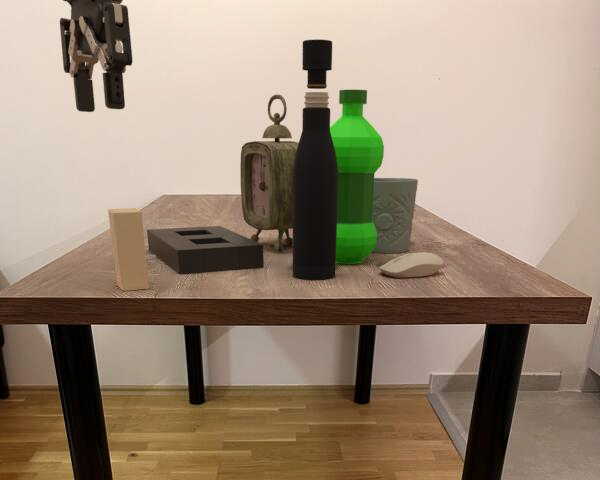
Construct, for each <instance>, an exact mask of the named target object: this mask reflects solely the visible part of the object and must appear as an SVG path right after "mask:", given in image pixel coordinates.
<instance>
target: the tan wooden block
mask: <svg viewBox="0 0 600 480" xmlns="http://www.w3.org/2000/svg"><path fill="white" fill-rule="evenodd" d="M107 212H108V213H107V214H108V220H109V227H110V228H109V229H110V236H111V237H110V238H111V246H112V254H113V262H114V270H115V278H116V280H115V281H116V285H117V286H118V287H119V289H120V290H121V291H122V292H126V291H127V292H128V291H139V290H149V289H150V285H149V274H148V263H147V255H146V254H147V253H146V243H145V234H144V224H143V215H142V214H143V213H142V211H140V210H139V209H138V208H136V207H130V208H129V207H127V208H125V207H124V208H108V209H107Z"/></svg>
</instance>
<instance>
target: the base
mask: <svg viewBox="0 0 600 480" xmlns="http://www.w3.org/2000/svg"><path fill="white" fill-rule="evenodd" d="M146 235H147V247H148V251H149V252H151V253H152V254H154V255H155V256H156V258H159V259H160V261H162V262H163V263H165V264H166V265H168V266H169V267H170V268H171V269H172V270H174V271H175V272H176V273H177V274H179V275H183V274H196V273H197V274H198V273H211V272H221V271H234V270H248V269H259V268H265V266H264V265H265V264H264V262H265V261H264V244H262V243H260V242H259V241H258V242H256V241H253V240H251V238H249V237H246V236H244V235H242V234H239V233H237V232H235V231H232V230H230V229H228V228H226V227H223V226H222V225H212V226H211V225H209V226H191V227H190V226H189V227H172V228H171V227H170V228H169V227H168V228H150V229H146Z"/></svg>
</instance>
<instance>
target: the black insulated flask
mask: <svg viewBox="0 0 600 480" xmlns="http://www.w3.org/2000/svg"><path fill="white" fill-rule="evenodd" d="M332 65H333V41H332V40H329V39H305V40H303V41H302V67H301V68H302V71H306V72H307V80H306V81H307V84H306V87H307V89H311V90H325V89H327V87H328V85H327V72H328V71H332V70H333V66H332ZM329 99H330V96H329V92H326V91H325V92H324V91H306V92H305V95H304V100H305V101H304V102H303V104H304V106H305V107H302V121H301V123H302V125H301V127H302V131H301V134H300V137H299V141H298V142H299V144H298V147H297V150H296V155H295V160H294V166H293V229H292V239H293V245H292V277H294V278H297V279H300V280H309V281H310V280H311V281H320V280H321V281H322V280H329V279H333V278H335V277H336V271H337V270H336V266H337V263H336V236H337V203H338V164H337V158H336V152H335V148H334V144H333V140H332V137H331V133H330V127H331V108H330V107H329V104H330V102H329Z"/></svg>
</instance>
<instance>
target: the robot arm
mask: <svg viewBox="0 0 600 480" xmlns="http://www.w3.org/2000/svg"><path fill="white" fill-rule="evenodd" d="M62 1H63V2H67V3H68V4H69V5H70V18H65V17H61V18H60V19H59V30H60V41H61V54H62V65H63V66H62V67H63V71H64V73H65V74H69V76H70V77H71V78H72V79H73V88H74V99H75V108H76V110H77V111H78V112H81V113H82V112H83V113H93V112H94V111H95V109H96V107H95V106H96V105H95V104H96V103H95V95H94V85H93V84H94V83H93V79H92V77H93V73H94V67H95V65H96V64H98V63H99V64H100V66H101V68H102V70H103V72H102V82H103V83H102V84H103V95H104V105H105V107H106V108H107V109H110V110H124V109H125V107H126V103H125V87H124V75H123V74H125V73H126V69H127V66H129V67H130V66H132V65H133V50H132V40H131V29H130V28H131V27H130V18H129V9H128V6H127V5H125V4H122V3H123V1H124V0H62Z"/></svg>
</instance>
